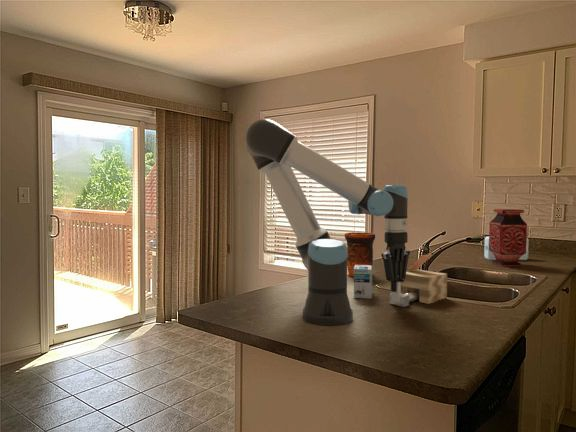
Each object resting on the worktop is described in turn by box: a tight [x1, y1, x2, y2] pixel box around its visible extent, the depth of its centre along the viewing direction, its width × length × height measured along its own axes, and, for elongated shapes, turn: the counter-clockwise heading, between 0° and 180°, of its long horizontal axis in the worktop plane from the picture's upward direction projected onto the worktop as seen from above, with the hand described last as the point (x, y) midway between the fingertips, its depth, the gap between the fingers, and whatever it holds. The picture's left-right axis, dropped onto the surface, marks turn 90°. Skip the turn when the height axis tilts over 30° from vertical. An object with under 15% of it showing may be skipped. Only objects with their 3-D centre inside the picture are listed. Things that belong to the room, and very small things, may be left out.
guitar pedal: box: [483, 236, 530, 261], centre depth 252 cm, size 23×6×13 cm, turn 90°
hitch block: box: [401, 269, 448, 305], centre depth 155 cm, size 12×12×9 cm
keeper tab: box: [406, 253, 433, 272], centre depth 158 cm, size 9×6×1 cm
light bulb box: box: [353, 264, 373, 300], centre depth 159 cm, size 11×7×11 cm, turn 168°
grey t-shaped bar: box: [388, 290, 420, 307], centre depth 150 cm, size 17×6×3 cm, turn 129°
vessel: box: [344, 231, 376, 278], centre depth 201 cm, size 14×14×20 cm
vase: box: [488, 208, 528, 267], centre depth 229 cm, size 14×14×30 cm
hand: (396, 300), depth 144 cm, fingers closed
